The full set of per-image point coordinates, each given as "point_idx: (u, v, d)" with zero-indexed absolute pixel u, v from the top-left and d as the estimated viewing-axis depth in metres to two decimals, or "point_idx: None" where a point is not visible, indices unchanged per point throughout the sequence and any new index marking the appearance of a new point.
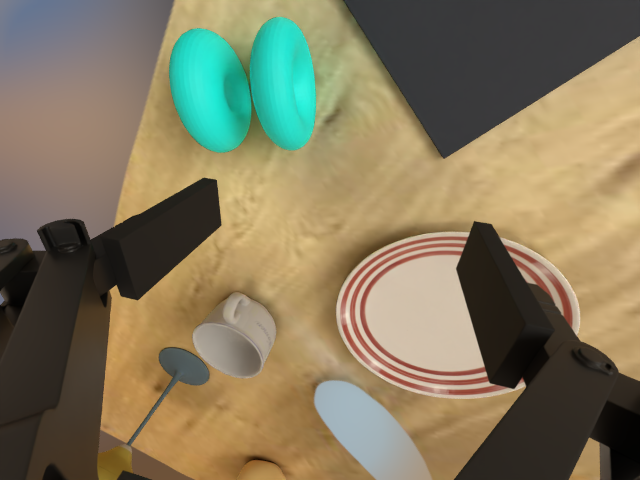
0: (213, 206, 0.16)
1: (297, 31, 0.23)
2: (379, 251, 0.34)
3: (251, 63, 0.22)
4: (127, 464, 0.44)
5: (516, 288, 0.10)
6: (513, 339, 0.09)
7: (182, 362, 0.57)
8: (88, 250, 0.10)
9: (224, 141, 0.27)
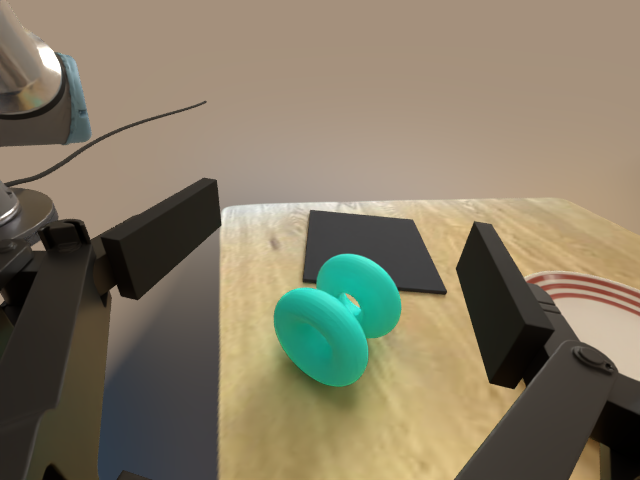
0: (213, 206, 0.16)
1: None
2: None
3: (339, 265, 0.30)
4: None
5: (516, 288, 0.10)
6: (513, 339, 0.09)
7: None
8: (88, 250, 0.10)
9: None
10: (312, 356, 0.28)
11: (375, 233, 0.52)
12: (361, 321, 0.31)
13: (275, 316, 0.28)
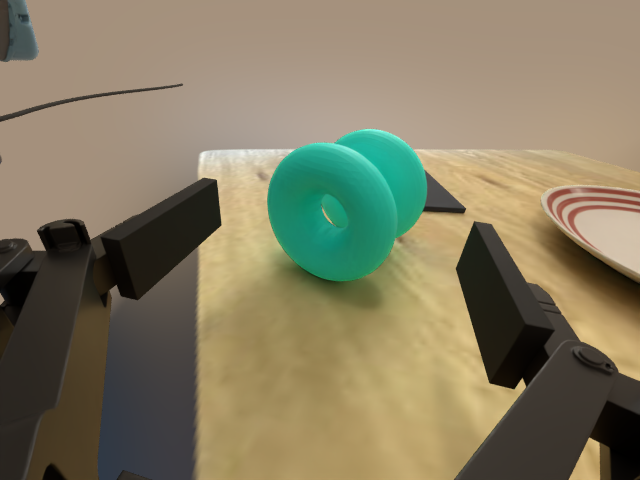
0: (213, 206, 0.16)
1: None
2: (580, 239, 0.26)
3: (347, 140, 0.24)
4: None
5: (516, 288, 0.10)
6: (513, 339, 0.09)
7: None
8: (88, 250, 0.10)
9: None
10: (320, 245, 0.22)
11: None
12: None
13: (269, 194, 0.21)
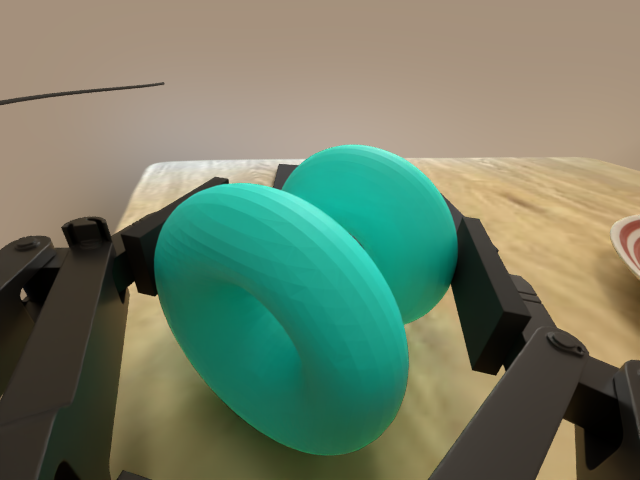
0: None
1: None
2: None
3: (316, 165, 0.14)
4: None
5: (498, 278, 0.10)
6: (493, 326, 0.09)
7: None
8: (108, 248, 0.10)
9: None
10: (256, 374, 0.11)
11: None
12: None
13: (155, 277, 0.11)
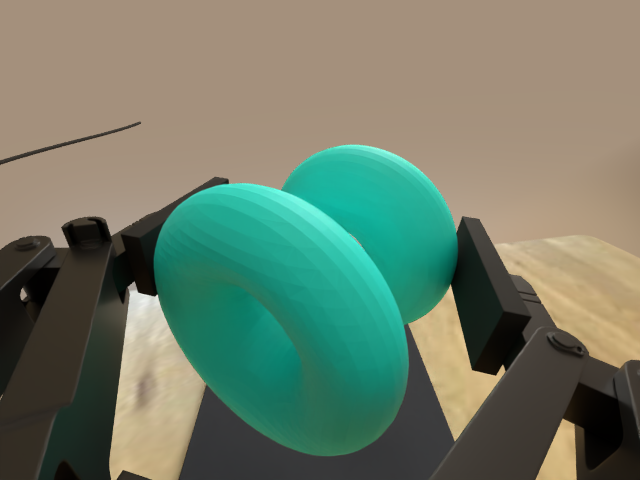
0: None
1: None
2: None
3: (316, 165, 0.14)
4: None
5: (498, 278, 0.10)
6: (493, 326, 0.09)
7: None
8: (108, 248, 0.10)
9: None
10: (255, 375, 0.11)
11: None
12: None
13: (155, 278, 0.11)
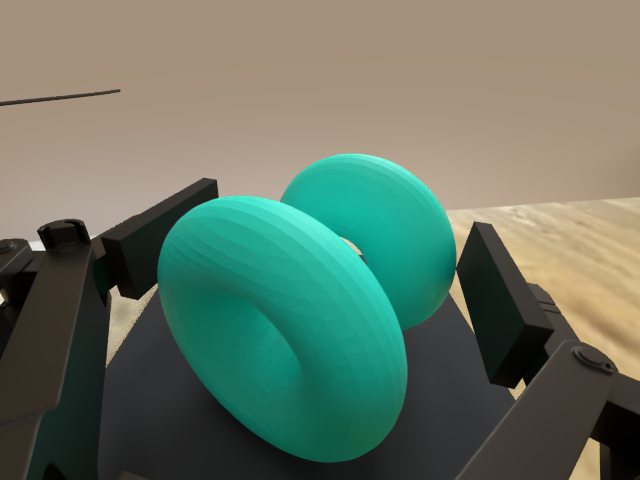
0: None
1: None
2: None
3: (316, 174, 0.14)
4: None
5: (516, 288, 0.10)
6: (513, 339, 0.09)
7: None
8: (88, 250, 0.10)
9: None
10: (257, 382, 0.11)
11: None
12: None
13: (158, 286, 0.11)
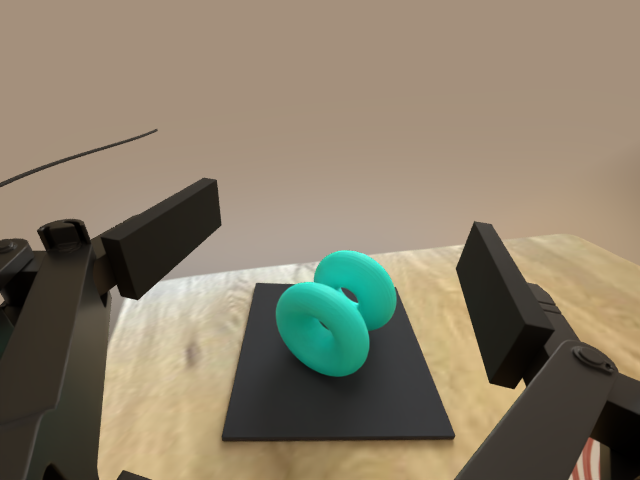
0: (213, 206, 0.16)
1: None
2: None
3: (336, 261, 0.32)
4: None
5: (516, 288, 0.10)
6: (513, 339, 0.09)
7: None
8: (88, 250, 0.10)
9: None
10: (315, 349, 0.29)
11: None
12: None
13: (277, 312, 0.29)
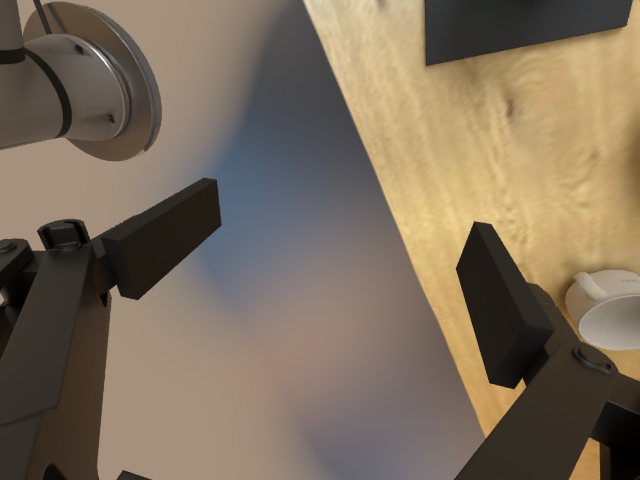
0: (213, 206, 0.16)
1: None
2: None
3: None
4: None
5: (516, 288, 0.10)
6: (513, 339, 0.09)
7: None
8: (88, 250, 0.10)
9: None
10: None
11: None
12: None
13: None
